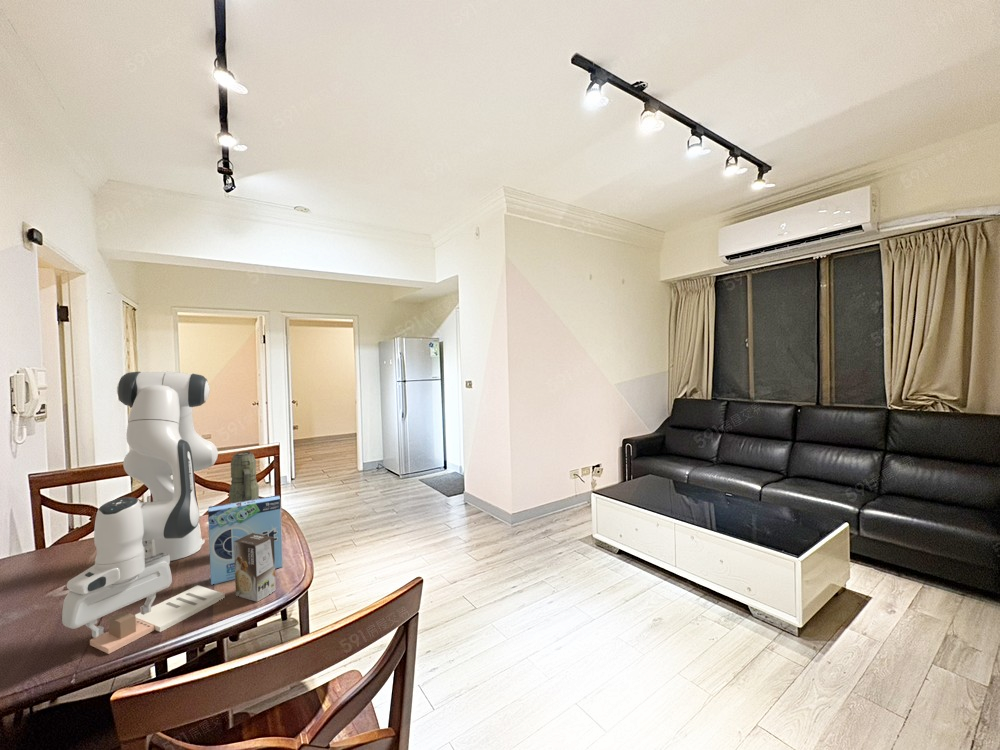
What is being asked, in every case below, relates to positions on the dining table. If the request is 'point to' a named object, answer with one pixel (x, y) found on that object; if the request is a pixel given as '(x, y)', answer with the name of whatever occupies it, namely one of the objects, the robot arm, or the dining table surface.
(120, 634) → the peach base with block
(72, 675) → the dining table surface
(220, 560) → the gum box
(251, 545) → the coffee box
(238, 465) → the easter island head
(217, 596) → the ticket
